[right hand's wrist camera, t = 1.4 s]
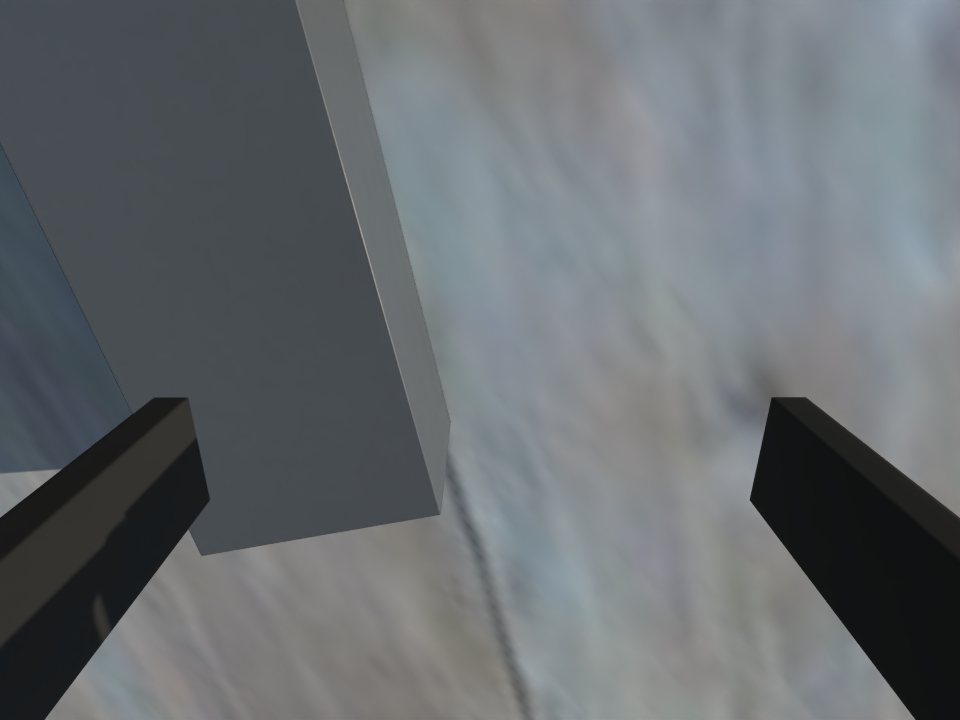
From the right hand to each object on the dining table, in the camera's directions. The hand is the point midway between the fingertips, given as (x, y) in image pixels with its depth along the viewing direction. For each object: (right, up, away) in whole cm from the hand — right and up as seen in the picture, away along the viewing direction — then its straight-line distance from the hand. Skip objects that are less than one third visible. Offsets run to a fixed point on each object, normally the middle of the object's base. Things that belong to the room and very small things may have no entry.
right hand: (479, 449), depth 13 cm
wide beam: (-14, +33, +2) cm, 35 cm away
